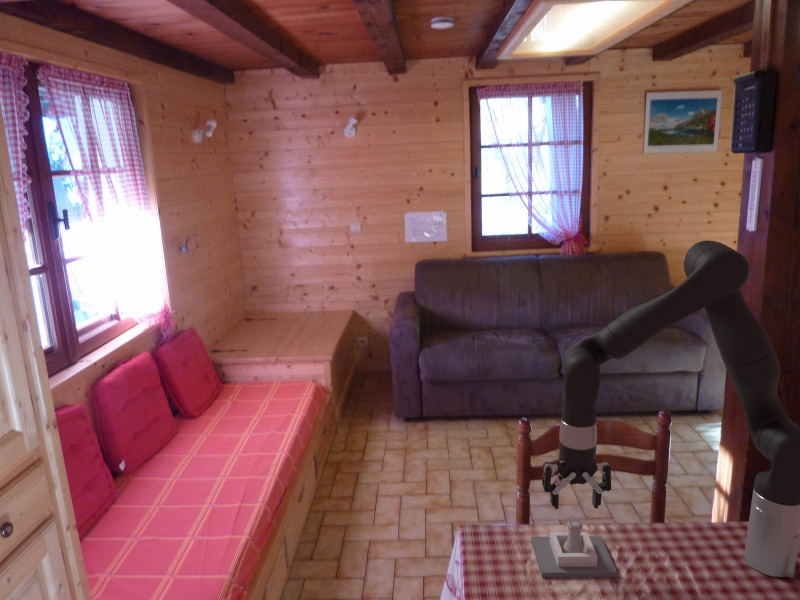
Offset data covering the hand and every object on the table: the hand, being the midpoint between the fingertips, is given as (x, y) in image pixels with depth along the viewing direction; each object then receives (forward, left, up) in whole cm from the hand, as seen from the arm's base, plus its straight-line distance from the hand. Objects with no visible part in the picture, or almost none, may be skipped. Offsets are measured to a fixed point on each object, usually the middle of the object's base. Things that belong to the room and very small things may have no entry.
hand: (575, 506), depth 130 cm
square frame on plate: (0, 0, -13) cm, 13 cm away
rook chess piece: (0, 0, -12) cm, 12 cm away
